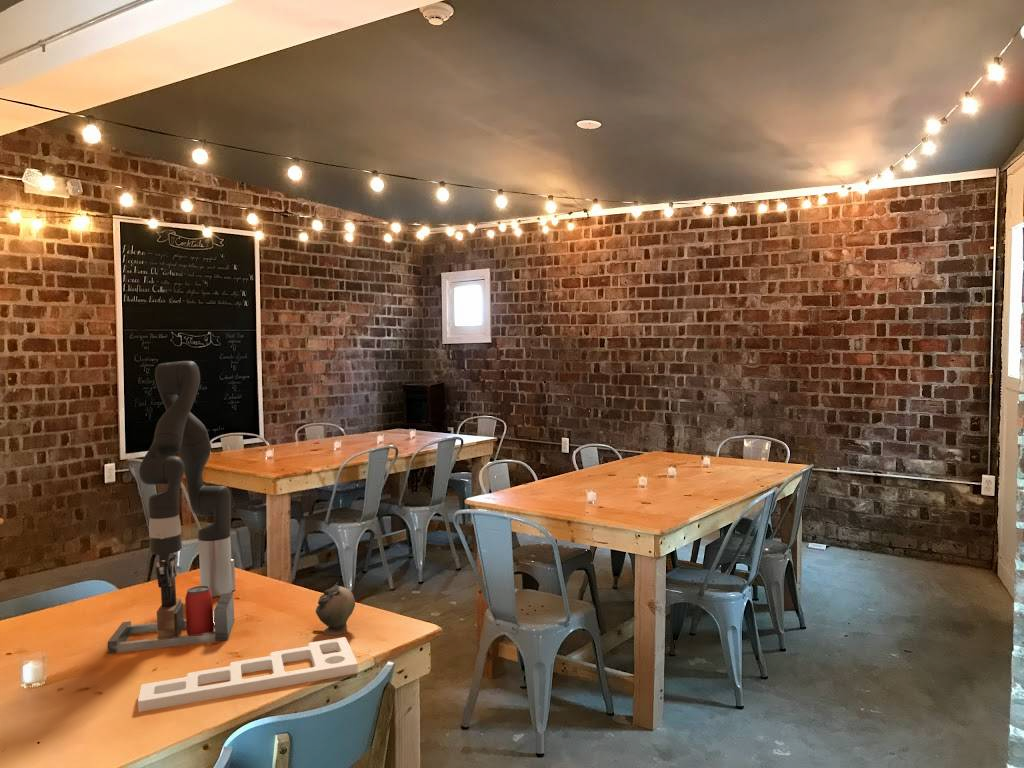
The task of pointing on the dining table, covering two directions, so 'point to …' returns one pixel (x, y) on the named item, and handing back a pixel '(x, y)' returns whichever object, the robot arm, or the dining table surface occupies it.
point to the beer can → (199, 610)
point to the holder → (191, 692)
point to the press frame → (222, 633)
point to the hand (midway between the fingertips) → (168, 598)
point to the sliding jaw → (170, 614)
